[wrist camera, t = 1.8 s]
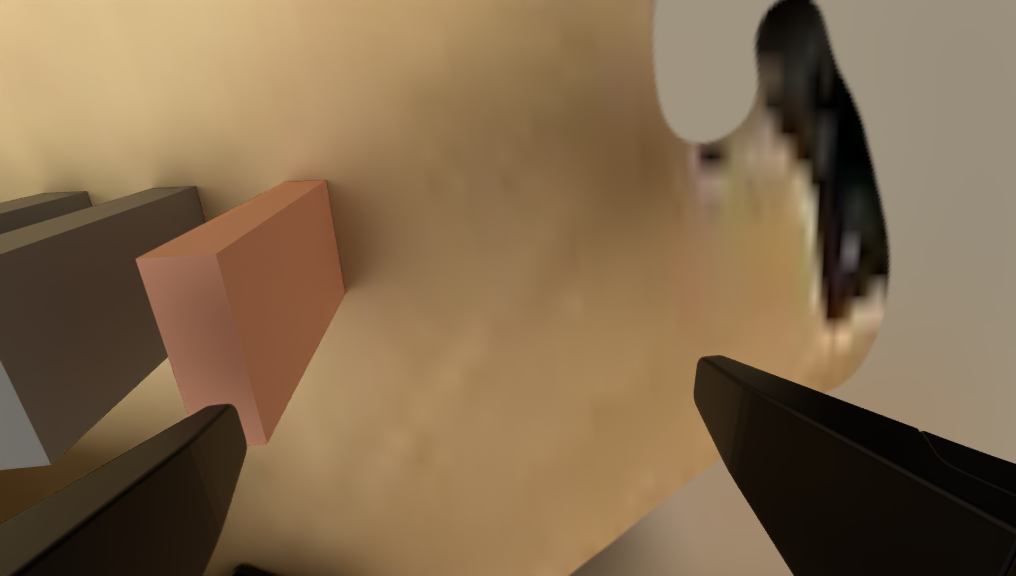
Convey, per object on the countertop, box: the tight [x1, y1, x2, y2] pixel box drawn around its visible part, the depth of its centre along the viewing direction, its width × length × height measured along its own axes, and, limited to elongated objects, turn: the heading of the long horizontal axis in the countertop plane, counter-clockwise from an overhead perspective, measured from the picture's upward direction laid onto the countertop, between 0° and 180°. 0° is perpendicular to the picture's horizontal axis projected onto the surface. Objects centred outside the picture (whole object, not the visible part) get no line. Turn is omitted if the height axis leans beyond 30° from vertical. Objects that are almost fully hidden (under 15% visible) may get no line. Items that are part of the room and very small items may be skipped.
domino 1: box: [136, 180, 345, 446], centre depth 16 cm, size 2×5×10 cm, turn 2°
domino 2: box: [0, 186, 206, 470], centre depth 15 cm, size 2×5×10 cm, turn 2°
